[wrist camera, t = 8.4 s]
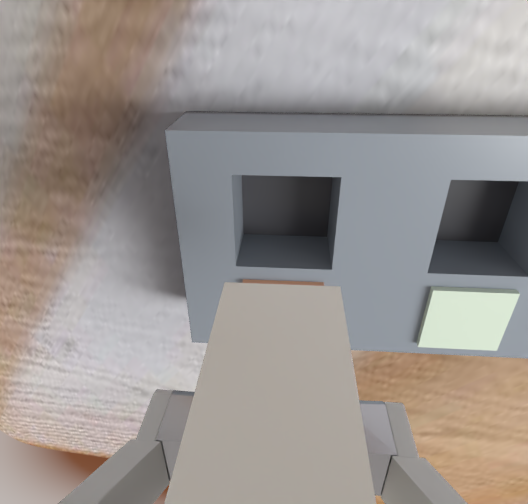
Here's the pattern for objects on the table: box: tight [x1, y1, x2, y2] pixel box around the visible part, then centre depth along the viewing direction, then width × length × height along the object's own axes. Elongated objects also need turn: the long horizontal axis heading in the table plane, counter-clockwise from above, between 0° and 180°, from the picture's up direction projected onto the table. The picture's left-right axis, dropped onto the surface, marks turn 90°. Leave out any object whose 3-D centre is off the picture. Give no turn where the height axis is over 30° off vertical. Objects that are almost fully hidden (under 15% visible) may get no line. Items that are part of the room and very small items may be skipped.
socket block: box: [165, 112, 528, 358], centre depth 24 cm, size 14×34×5 cm, turn 90°
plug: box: [165, 282, 376, 504], centre depth 11 cm, size 4×4×8 cm
